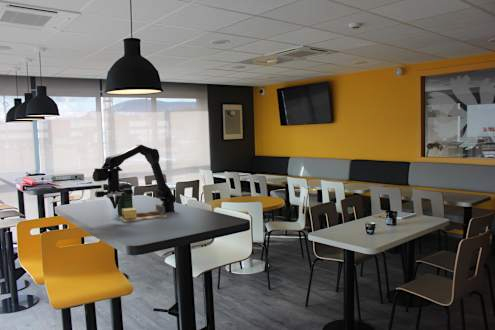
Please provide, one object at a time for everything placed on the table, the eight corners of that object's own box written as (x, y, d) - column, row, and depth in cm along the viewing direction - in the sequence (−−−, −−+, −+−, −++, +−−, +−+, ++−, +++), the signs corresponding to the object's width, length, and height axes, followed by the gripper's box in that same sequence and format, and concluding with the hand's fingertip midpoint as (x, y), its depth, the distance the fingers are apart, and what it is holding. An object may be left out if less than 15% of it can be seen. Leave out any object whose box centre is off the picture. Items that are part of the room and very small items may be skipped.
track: (160, 214, 232) (159, 203, 232) (166, 217, 222) (166, 206, 221) (119, 218, 221) (119, 208, 221) (124, 222, 211) (123, 211, 210)
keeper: (133, 215, 223) (132, 207, 222) (136, 217, 216) (136, 209, 215) (122, 216, 220) (121, 208, 219) (125, 219, 213) (125, 210, 212)
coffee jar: (135, 214, 234) (133, 182, 232) (122, 216, 229) (120, 184, 227) (128, 211, 241) (127, 181, 240) (116, 213, 237) (114, 183, 235)
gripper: (127, 177, 224) (129, 204, 225) (92, 180, 215) (94, 208, 216) (132, 179, 215) (133, 207, 216) (95, 181, 206) (97, 211, 207)
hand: (114, 208), depth 214 cm, fingers closed
